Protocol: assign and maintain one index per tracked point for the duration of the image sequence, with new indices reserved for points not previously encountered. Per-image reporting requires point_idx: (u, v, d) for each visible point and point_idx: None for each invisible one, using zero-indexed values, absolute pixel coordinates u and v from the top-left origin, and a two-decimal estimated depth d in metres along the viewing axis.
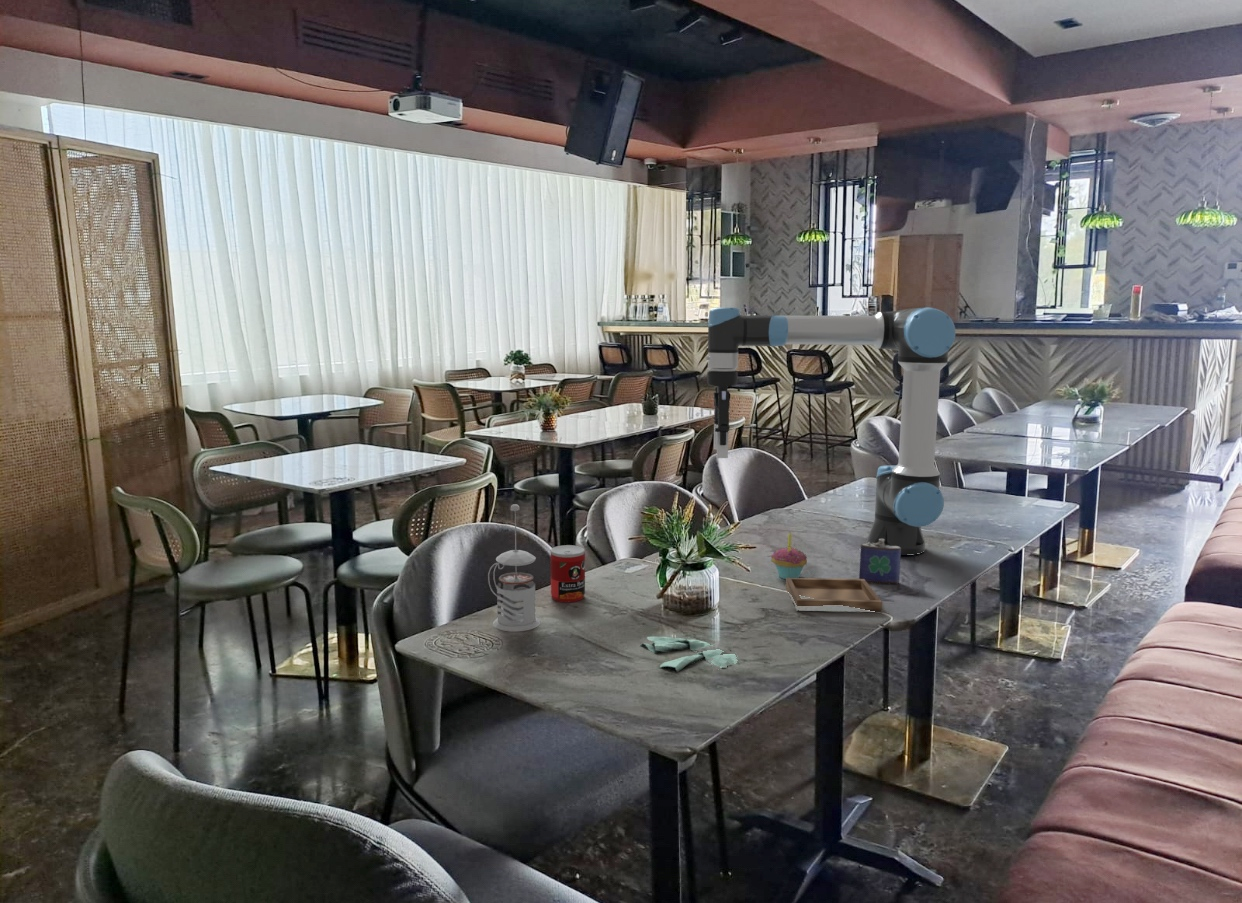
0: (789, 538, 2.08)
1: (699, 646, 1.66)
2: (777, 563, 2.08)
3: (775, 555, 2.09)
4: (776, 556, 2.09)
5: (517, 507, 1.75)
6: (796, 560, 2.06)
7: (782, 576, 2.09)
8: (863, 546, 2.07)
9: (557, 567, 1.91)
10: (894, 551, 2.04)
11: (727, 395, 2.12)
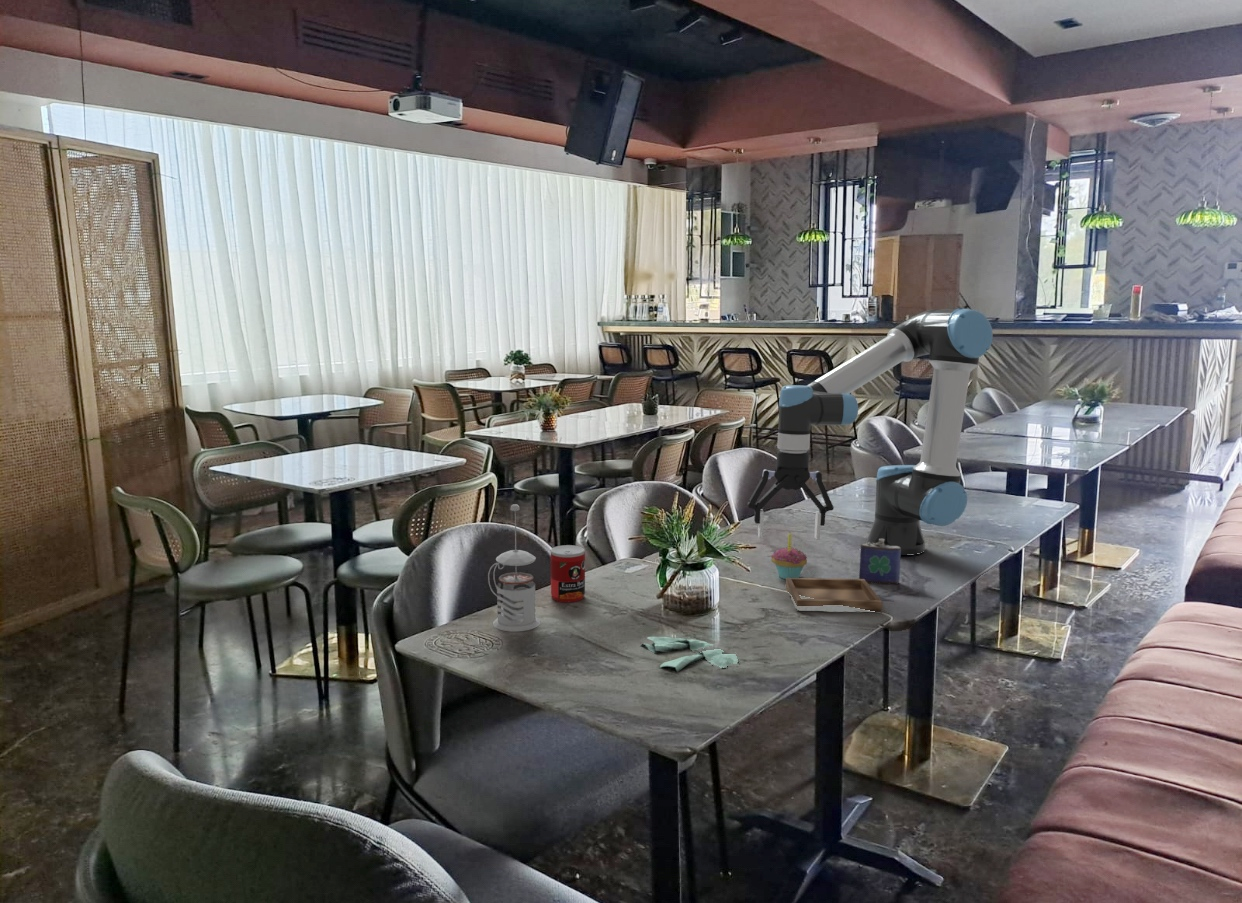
0: (789, 538, 2.08)
1: (699, 646, 1.66)
2: (777, 563, 2.08)
3: (775, 555, 2.09)
4: (776, 556, 2.09)
5: (517, 507, 1.75)
6: (796, 560, 2.07)
7: (782, 576, 2.09)
8: (863, 546, 2.07)
9: (557, 567, 1.91)
10: (894, 551, 2.04)
11: (763, 474, 2.07)
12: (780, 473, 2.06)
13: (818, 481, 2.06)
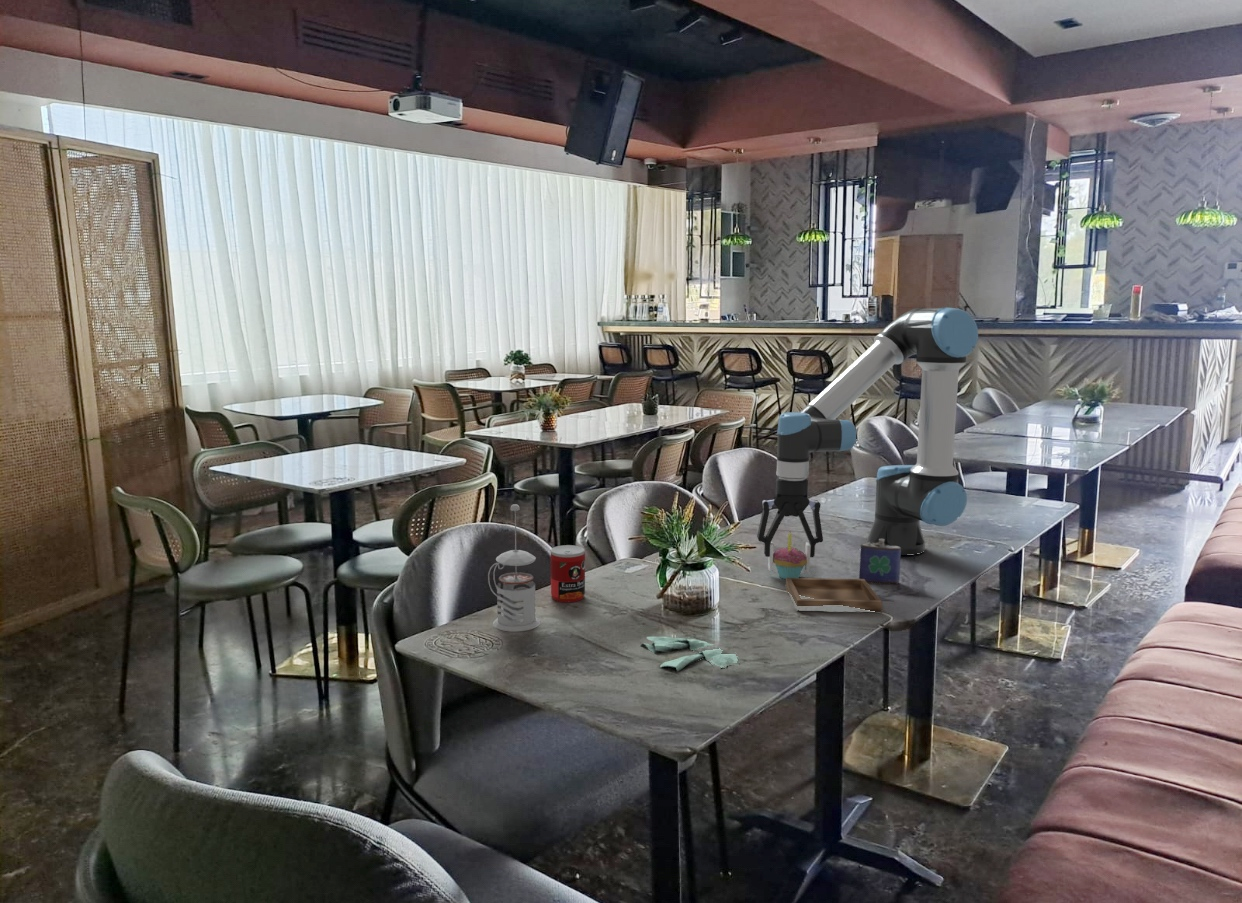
0: (789, 538, 2.08)
1: (699, 646, 1.66)
2: (777, 563, 2.08)
3: (775, 555, 2.09)
4: (776, 556, 2.09)
5: (517, 507, 1.75)
6: (796, 560, 2.06)
7: (782, 576, 2.09)
8: (863, 546, 2.07)
9: (557, 567, 1.91)
10: (894, 551, 2.04)
11: (763, 506, 2.08)
12: (779, 500, 2.07)
13: (815, 511, 2.07)
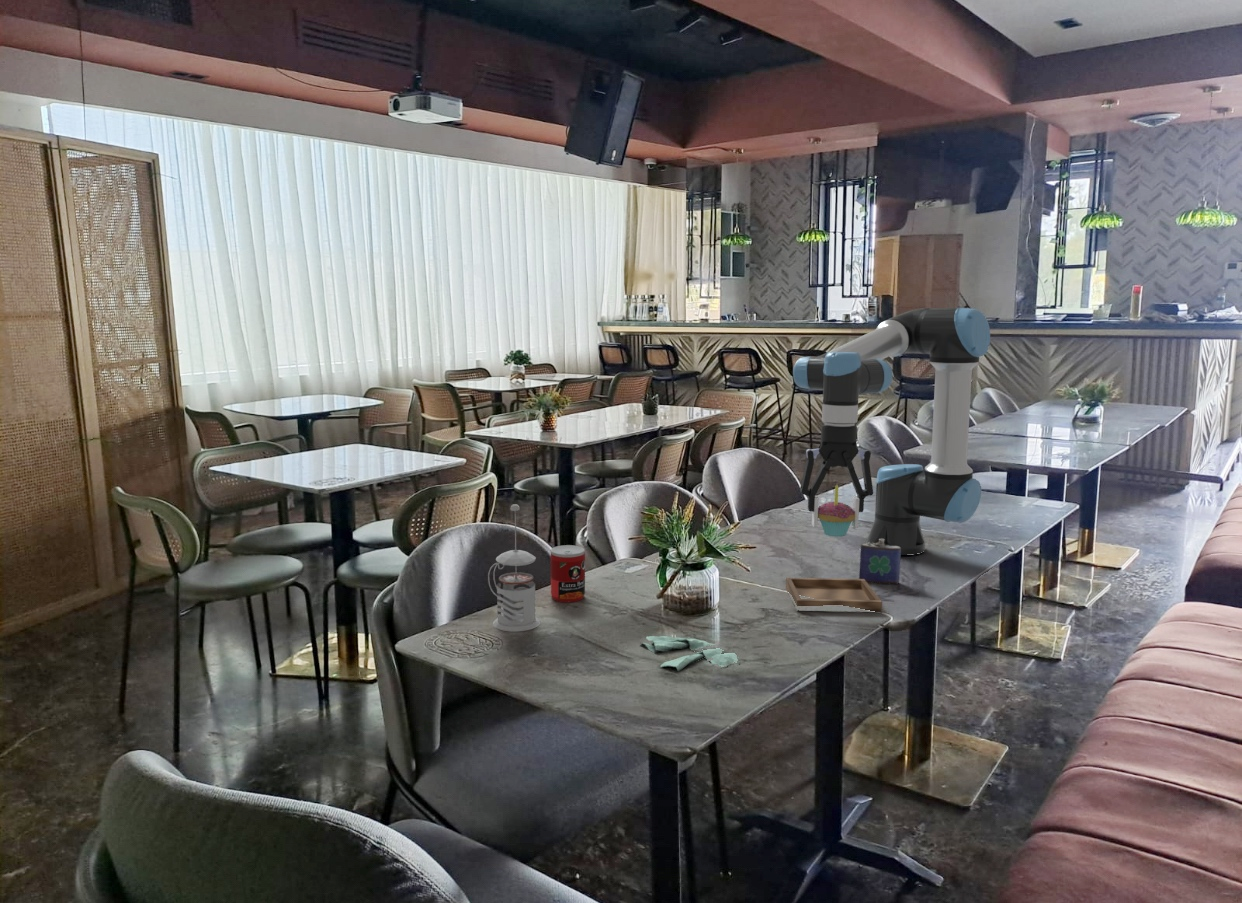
0: (836, 490, 1.88)
1: (699, 645, 1.67)
2: (823, 518, 1.89)
3: (820, 510, 1.90)
4: (822, 511, 1.89)
5: (517, 507, 1.75)
6: (844, 515, 1.87)
7: (828, 533, 1.90)
8: (863, 546, 2.07)
9: (557, 567, 1.91)
10: (894, 551, 2.04)
11: (807, 455, 1.88)
12: (825, 448, 1.88)
13: (865, 460, 1.88)
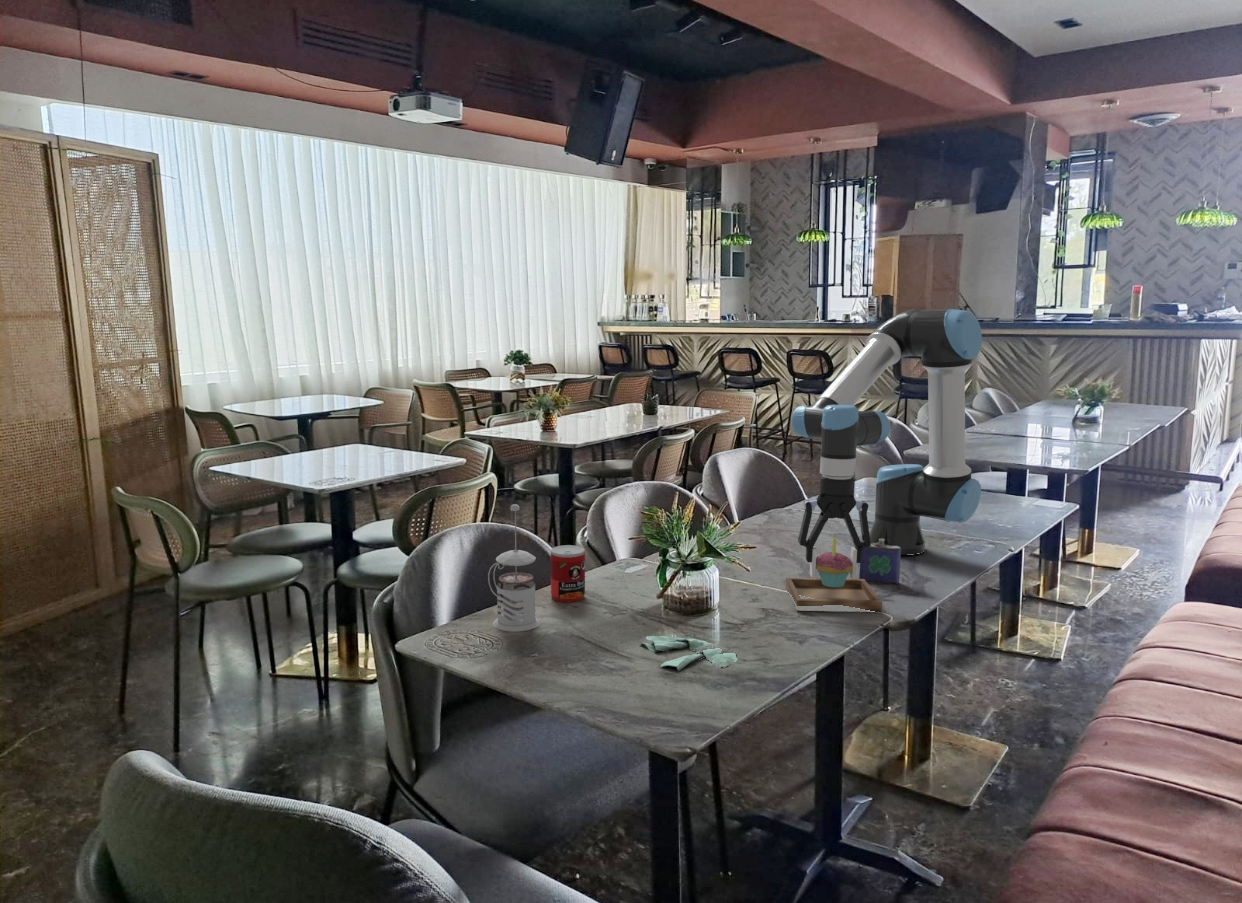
0: (834, 542, 1.90)
1: (698, 645, 1.67)
2: (821, 569, 1.90)
3: (818, 560, 1.92)
4: (819, 562, 1.91)
5: (517, 507, 1.75)
6: (842, 566, 1.89)
7: (826, 583, 1.92)
8: None
9: (557, 567, 1.91)
10: (894, 551, 2.04)
11: (805, 507, 1.90)
12: (823, 500, 1.90)
13: (862, 512, 1.90)
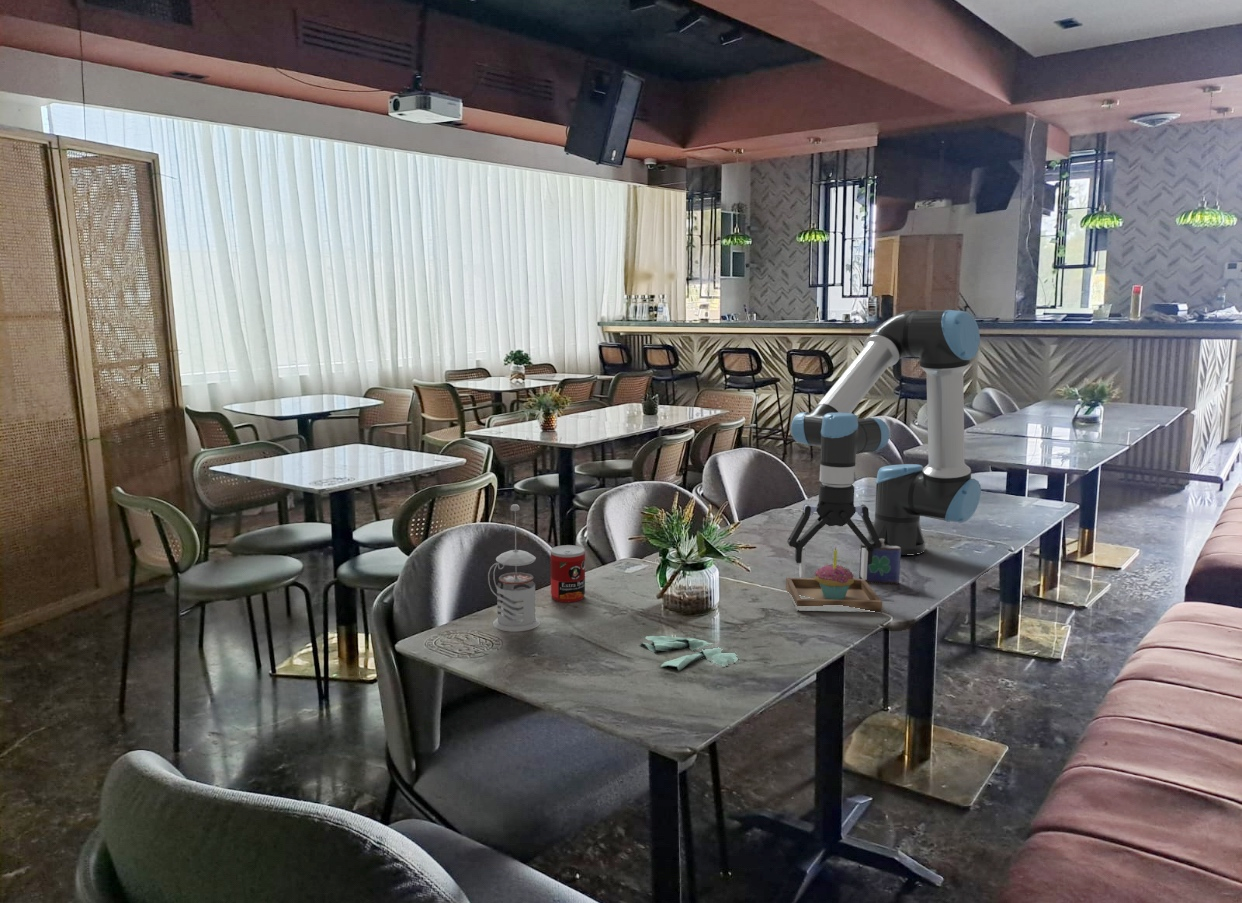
0: (835, 555, 1.91)
1: (698, 645, 1.67)
2: (822, 582, 1.91)
3: (819, 573, 1.92)
4: (821, 575, 1.91)
5: (517, 507, 1.75)
6: (843, 579, 1.89)
7: (827, 596, 1.92)
8: (863, 546, 2.07)
9: (557, 567, 1.91)
10: (894, 551, 2.04)
11: (804, 510, 1.90)
12: (823, 508, 1.90)
13: (865, 516, 1.90)
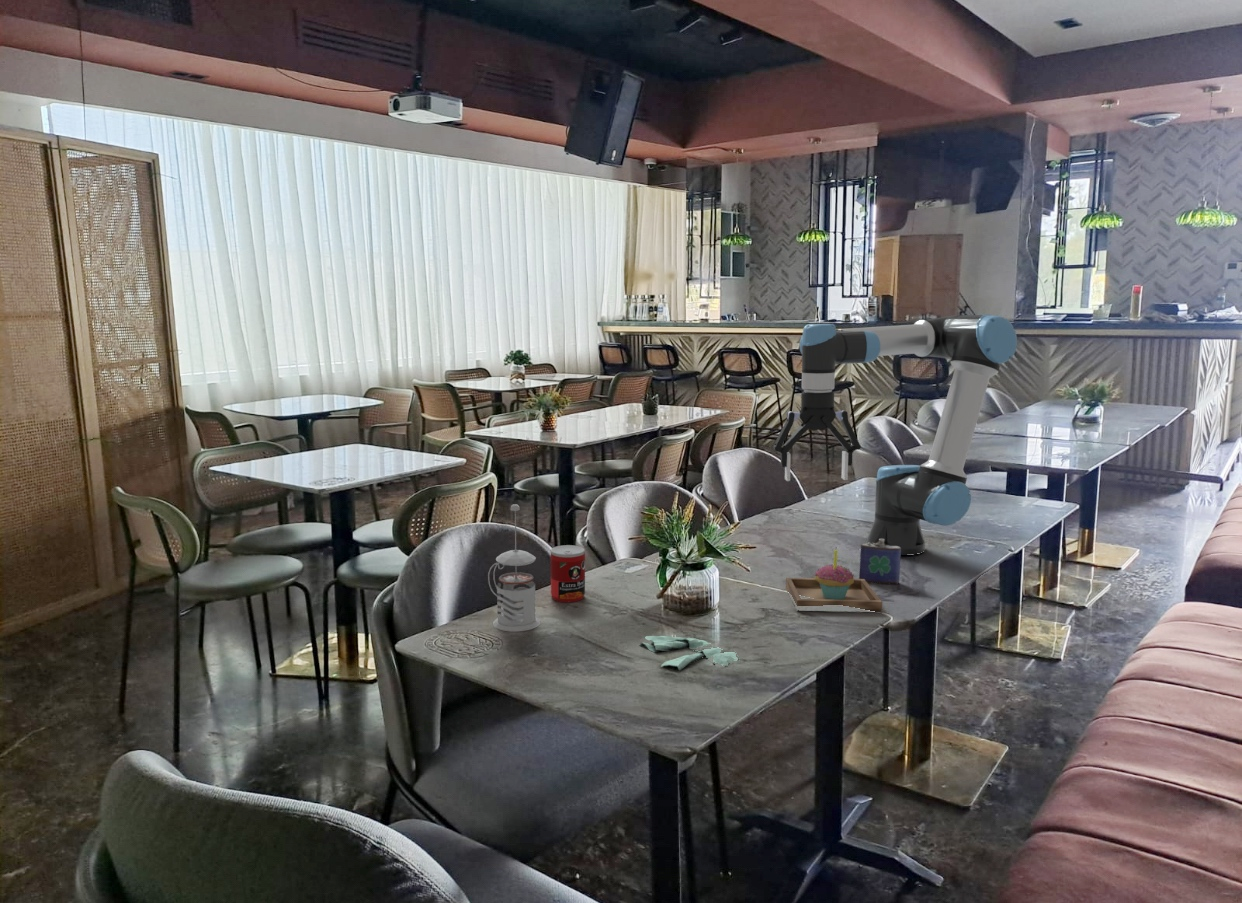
0: (835, 555, 1.91)
1: (698, 645, 1.67)
2: (822, 582, 1.91)
3: (819, 573, 1.92)
4: (821, 575, 1.91)
5: (517, 507, 1.75)
6: (843, 579, 1.89)
7: (827, 596, 1.92)
8: (863, 546, 2.07)
9: (557, 567, 1.91)
10: (894, 551, 2.04)
11: (788, 416, 2.03)
12: (806, 414, 2.03)
13: (844, 420, 2.03)
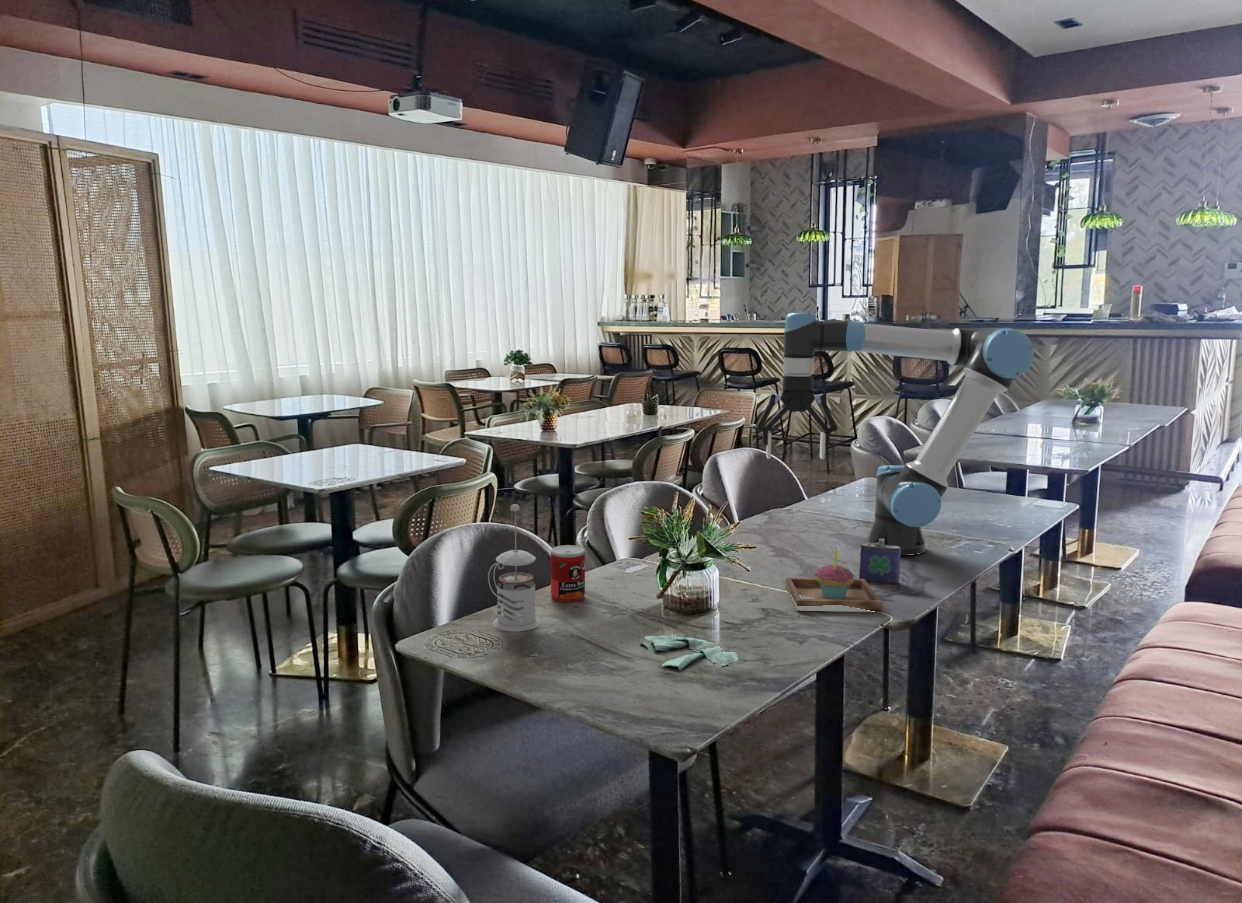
0: (835, 555, 1.91)
1: (698, 644, 1.67)
2: (822, 582, 1.91)
3: (819, 573, 1.92)
4: (821, 575, 1.92)
5: (517, 507, 1.75)
6: (843, 579, 1.89)
7: (827, 596, 1.92)
8: (863, 546, 2.07)
9: (557, 567, 1.91)
10: (894, 551, 2.04)
11: (770, 397, 2.19)
12: (786, 396, 2.18)
13: (822, 403, 2.18)
